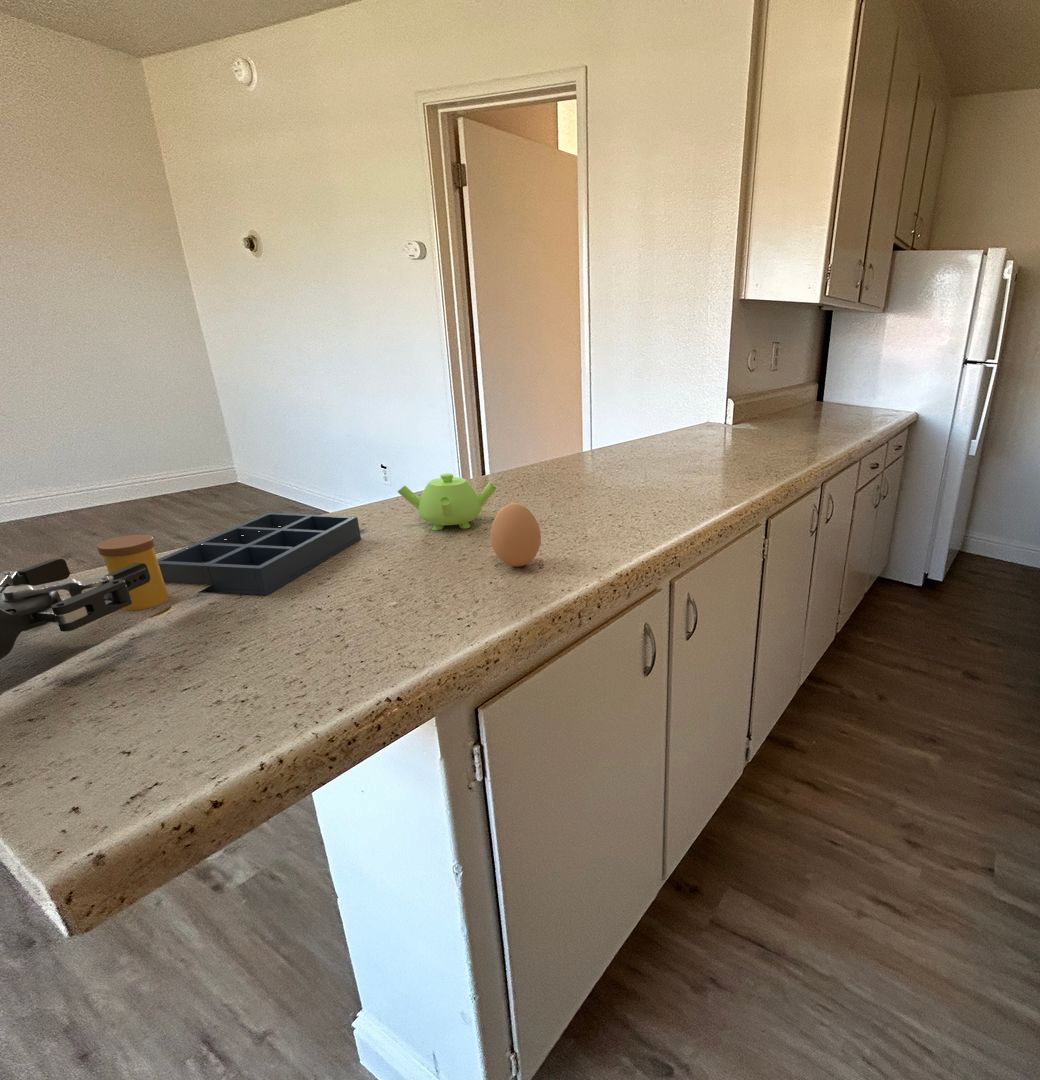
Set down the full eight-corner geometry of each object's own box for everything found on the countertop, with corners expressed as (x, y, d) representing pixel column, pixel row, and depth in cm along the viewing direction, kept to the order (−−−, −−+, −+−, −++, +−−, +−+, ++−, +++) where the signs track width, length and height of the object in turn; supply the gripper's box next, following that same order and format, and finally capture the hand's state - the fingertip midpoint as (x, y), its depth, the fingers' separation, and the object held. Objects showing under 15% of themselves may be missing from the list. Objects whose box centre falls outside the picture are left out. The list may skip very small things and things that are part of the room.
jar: (109, 619, 65) (84, 547, 62) (146, 601, 69) (124, 533, 66) (149, 621, 65) (126, 549, 62) (184, 603, 69) (163, 535, 66)
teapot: (457, 508, 106) (451, 462, 103) (504, 520, 101) (500, 472, 98) (400, 526, 96) (392, 475, 93) (449, 540, 92) (442, 487, 89)
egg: (490, 575, 80) (483, 511, 77) (496, 557, 86) (491, 497, 83) (540, 573, 82) (536, 510, 78) (544, 555, 88) (540, 496, 84)
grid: (156, 590, 72) (148, 562, 71) (273, 534, 90) (268, 512, 89) (266, 595, 72) (260, 568, 71) (361, 539, 90) (357, 516, 89)
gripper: (-27, 613, 46) (162, 539, 61) (-212, 603, 46) (24, 531, 61) (9, 694, 48) (182, 604, 63) (-165, 685, 48) (49, 597, 63)
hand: (104, 569), depth 62 cm, fingers open, 8 cm apart
